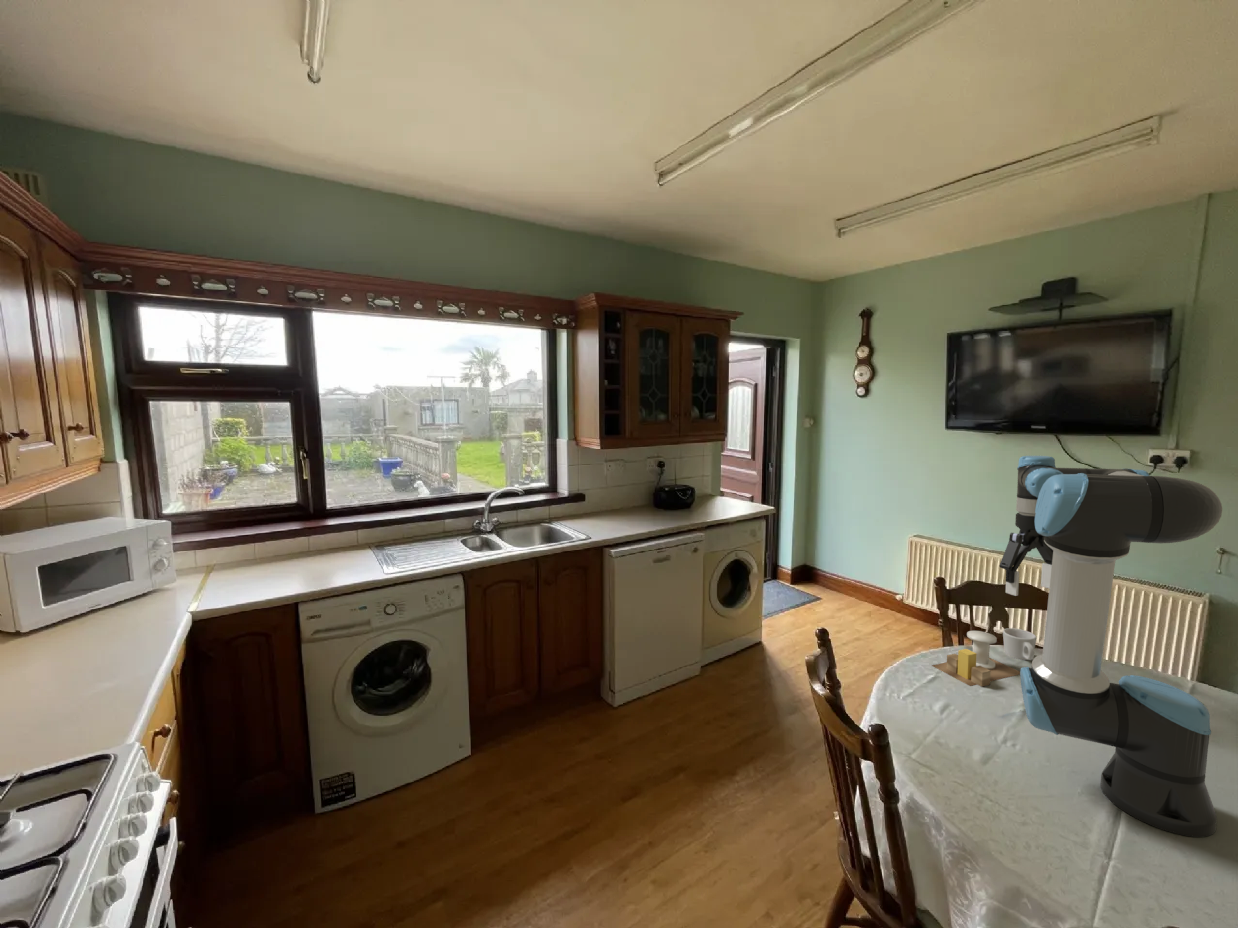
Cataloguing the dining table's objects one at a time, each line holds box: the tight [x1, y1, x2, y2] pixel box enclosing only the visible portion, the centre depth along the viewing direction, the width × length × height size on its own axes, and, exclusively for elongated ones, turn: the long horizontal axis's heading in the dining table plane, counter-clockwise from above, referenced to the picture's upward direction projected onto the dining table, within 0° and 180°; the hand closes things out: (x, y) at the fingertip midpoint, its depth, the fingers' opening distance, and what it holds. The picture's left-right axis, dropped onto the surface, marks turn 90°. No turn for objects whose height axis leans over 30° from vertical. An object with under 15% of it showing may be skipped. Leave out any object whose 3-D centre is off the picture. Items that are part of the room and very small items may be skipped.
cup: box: [1002, 627, 1037, 661], centre depth 151 cm, size 11×8×8 cm
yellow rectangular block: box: [957, 648, 977, 679], centre depth 142 cm, size 3×3×7 cm
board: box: [931, 653, 1021, 688], centre depth 145 cm, size 13×20×5 cm, turn 107°
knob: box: [966, 630, 997, 670], centre depth 148 cm, size 7×7×9 cm
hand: (1029, 590), depth 136 cm, fingers open, 13 cm apart
